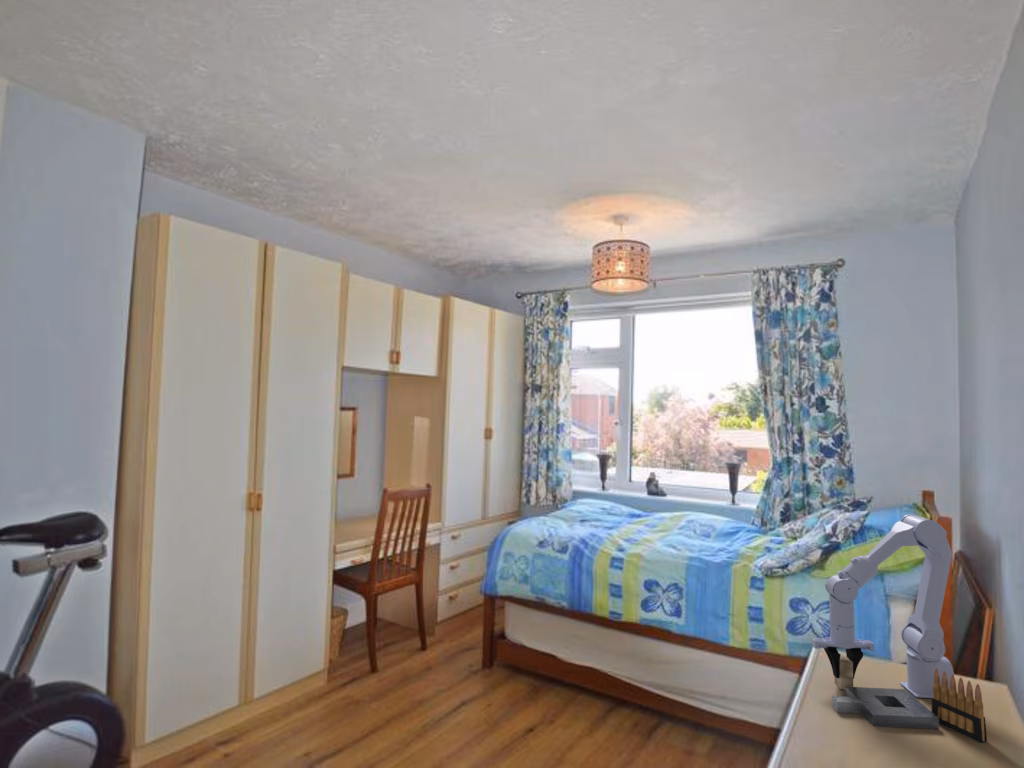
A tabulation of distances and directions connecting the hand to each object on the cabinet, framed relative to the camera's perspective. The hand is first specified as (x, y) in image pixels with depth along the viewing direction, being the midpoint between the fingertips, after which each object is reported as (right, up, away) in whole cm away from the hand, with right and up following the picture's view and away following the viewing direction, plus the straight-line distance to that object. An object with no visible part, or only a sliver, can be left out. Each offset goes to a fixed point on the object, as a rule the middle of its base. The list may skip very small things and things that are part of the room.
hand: (843, 676), depth 156 cm
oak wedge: (0, -2, 0) cm, 2 cm away
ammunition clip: (+14, -2, -22) cm, 26 cm away
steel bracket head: (+1, -2, -13) cm, 13 cm away
